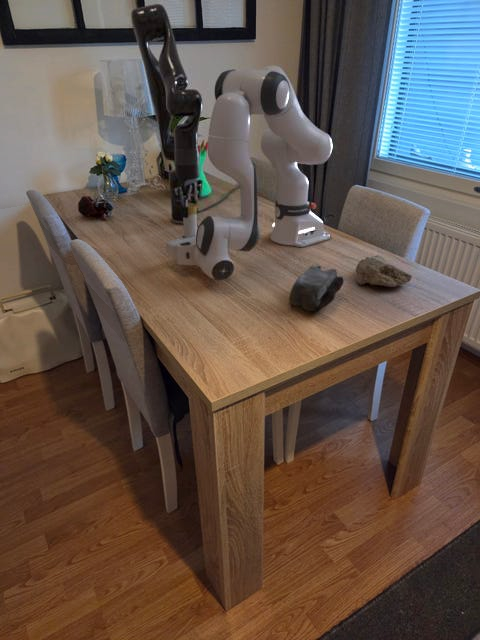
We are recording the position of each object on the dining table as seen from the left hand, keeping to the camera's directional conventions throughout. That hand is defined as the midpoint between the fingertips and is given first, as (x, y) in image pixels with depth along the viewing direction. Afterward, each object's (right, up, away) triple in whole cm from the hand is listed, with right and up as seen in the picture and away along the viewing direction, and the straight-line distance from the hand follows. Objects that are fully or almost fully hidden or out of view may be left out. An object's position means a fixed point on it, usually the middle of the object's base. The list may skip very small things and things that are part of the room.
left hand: (189, 214), depth 147 cm
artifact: (+60, -22, -8) cm, 64 cm away
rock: (+39, -29, -19) cm, 52 cm away
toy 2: (-8, +26, +70) cm, 75 cm away
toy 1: (-44, +8, +41) cm, 61 cm away
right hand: (0, -6, +5) cm, 8 cm away
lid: (0, +3, -1) cm, 3 cm away
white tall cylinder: (0, -12, +8) cm, 15 cm away
